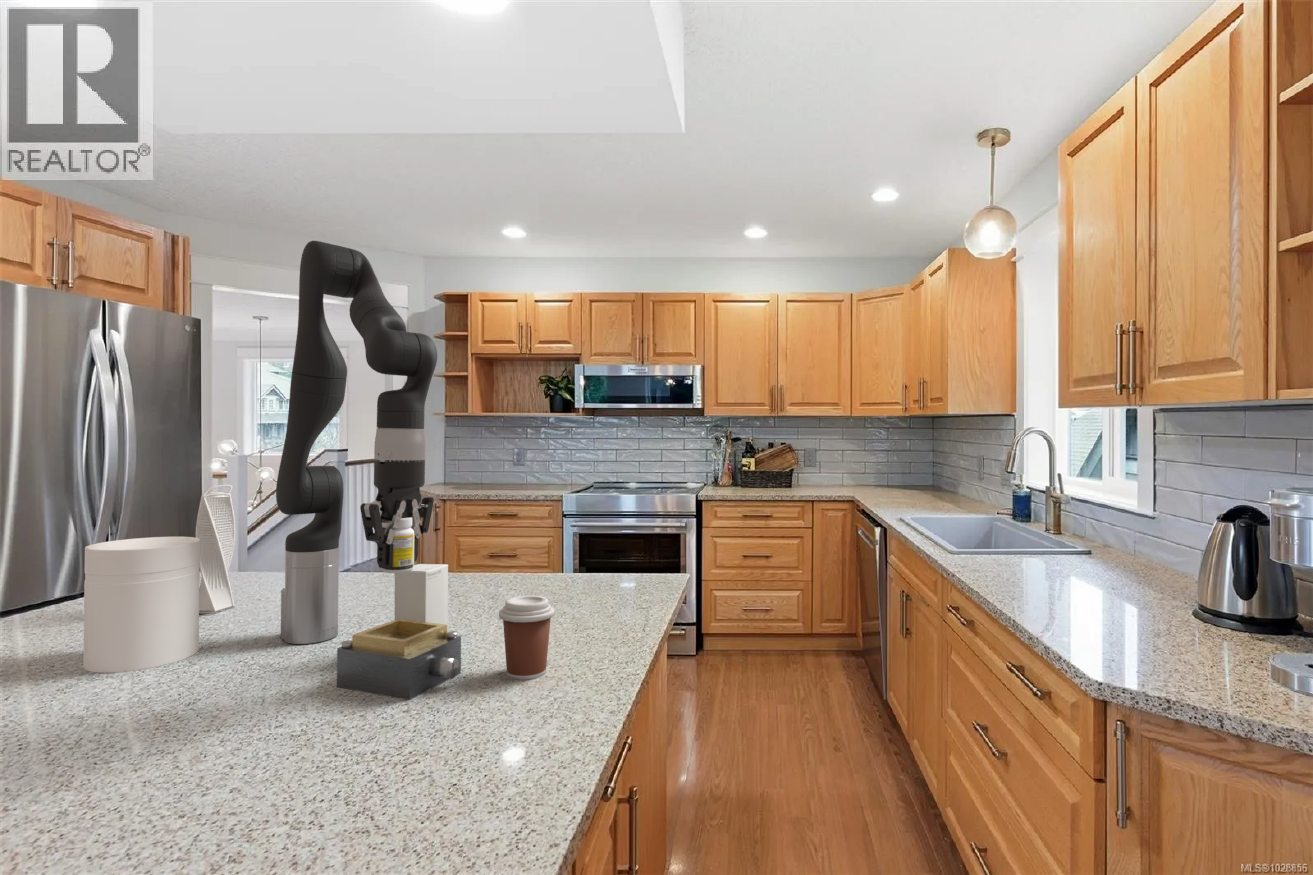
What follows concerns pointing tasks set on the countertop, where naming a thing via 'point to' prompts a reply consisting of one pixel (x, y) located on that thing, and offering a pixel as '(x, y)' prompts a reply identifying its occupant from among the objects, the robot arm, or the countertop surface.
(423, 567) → the skincare box
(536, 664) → the coffee cup
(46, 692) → the countertop surface
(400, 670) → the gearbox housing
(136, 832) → the countertop surface
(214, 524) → the skyscraper
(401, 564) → the supplement bottle
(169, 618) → the canister
